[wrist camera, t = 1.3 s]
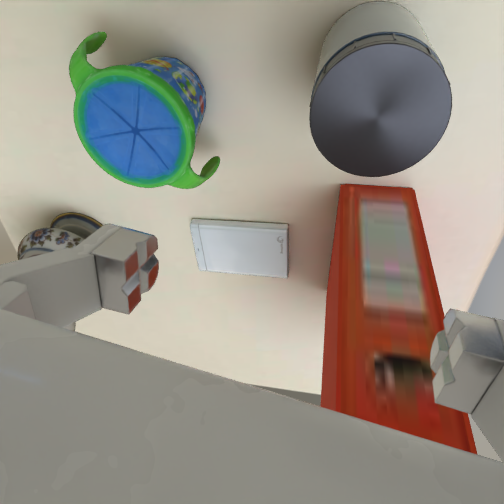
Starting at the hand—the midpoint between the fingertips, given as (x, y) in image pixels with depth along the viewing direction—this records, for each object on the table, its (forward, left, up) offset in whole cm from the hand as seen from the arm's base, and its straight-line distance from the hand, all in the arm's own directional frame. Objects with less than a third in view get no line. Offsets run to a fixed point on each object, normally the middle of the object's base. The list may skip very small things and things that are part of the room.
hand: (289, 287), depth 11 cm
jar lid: (+4, +1, -19) cm, 20 cm away
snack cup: (-6, -16, -32) cm, 36 cm away
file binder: (+22, -11, -32) cm, 41 cm away
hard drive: (+13, -24, -32) cm, 42 cm away
